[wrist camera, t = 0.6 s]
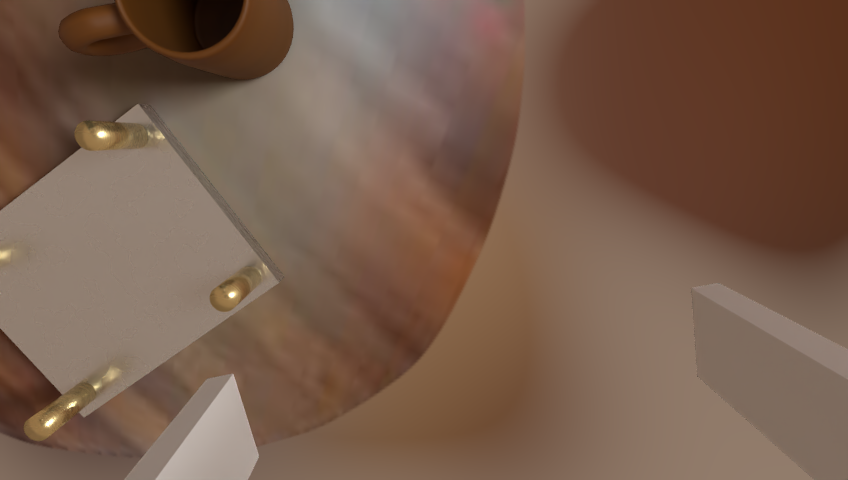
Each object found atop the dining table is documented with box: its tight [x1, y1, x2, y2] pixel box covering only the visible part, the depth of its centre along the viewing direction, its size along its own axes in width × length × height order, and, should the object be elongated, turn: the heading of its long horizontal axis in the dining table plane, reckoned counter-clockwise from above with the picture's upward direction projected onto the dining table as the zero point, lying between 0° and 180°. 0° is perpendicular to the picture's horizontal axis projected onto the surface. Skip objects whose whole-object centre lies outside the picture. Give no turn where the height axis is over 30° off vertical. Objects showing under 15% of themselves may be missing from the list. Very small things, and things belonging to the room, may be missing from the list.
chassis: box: [0, 104, 284, 441], centre depth 35 cm, size 16×20×6 cm
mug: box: [58, 0, 293, 79], centre depth 30 cm, size 12×8×9 cm, turn 107°
